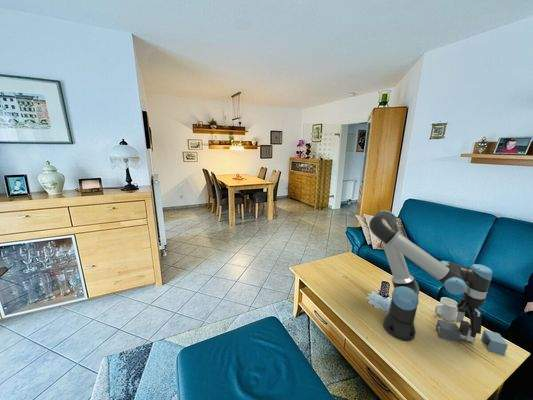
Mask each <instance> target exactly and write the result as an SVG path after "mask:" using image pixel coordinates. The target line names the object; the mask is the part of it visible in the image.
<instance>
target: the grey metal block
mask: <svg viewBox="0 0 533 400" xmlns="http://www.w3.org/2000/svg"><path fill="white" fill-rule="evenodd" d="M435 325H436V327H435V331H437V332H438V330H437V327H438V326H440V327H441V331H440V333H439V336H438V337H439V339H442V340H445V341H449V342H454V343H458V344H459V343H460V339H461V338H460V336H461V332H460V330H459V327H458V325H457V323H456V322H455V323H454V322H452V321H447V320H443V319H437V321H436V324H435Z"/></svg>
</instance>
